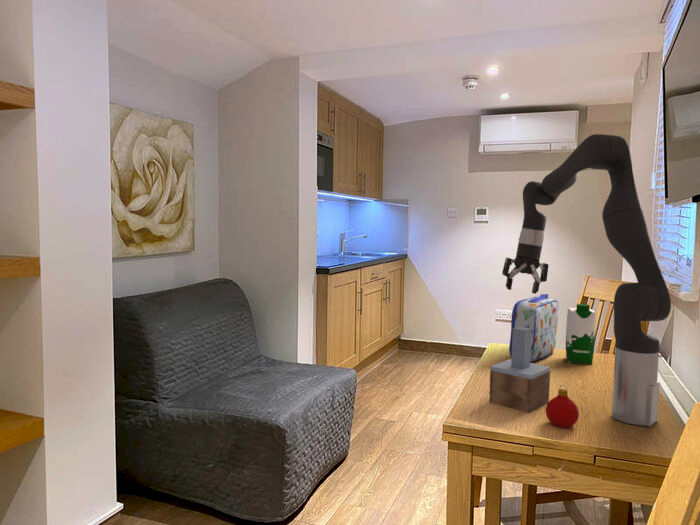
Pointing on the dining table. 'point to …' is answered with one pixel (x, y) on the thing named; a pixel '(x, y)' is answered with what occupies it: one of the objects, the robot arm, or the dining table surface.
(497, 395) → the block
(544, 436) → the dining table surface
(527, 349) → the lid
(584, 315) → the milk carton
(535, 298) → the lunch box
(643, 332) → the robot arm
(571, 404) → the christmas ornament
